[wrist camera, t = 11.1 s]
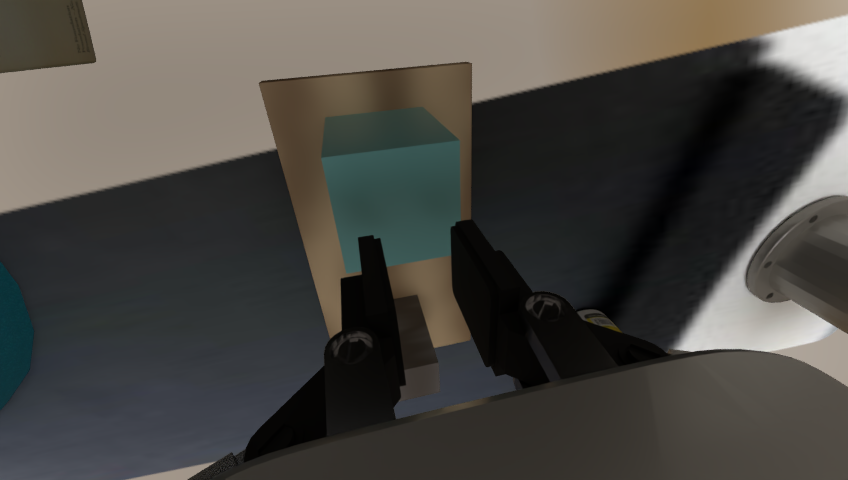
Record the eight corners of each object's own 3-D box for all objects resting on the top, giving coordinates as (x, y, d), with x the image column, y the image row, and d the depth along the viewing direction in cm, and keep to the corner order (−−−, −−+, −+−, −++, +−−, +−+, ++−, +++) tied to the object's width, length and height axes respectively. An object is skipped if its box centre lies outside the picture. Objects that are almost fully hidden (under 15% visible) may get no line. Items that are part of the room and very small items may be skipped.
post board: (466, 61, 22) (525, 77, 15) (466, 332, 34) (499, 407, 27) (261, 81, 20) (225, 107, 13) (338, 359, 32) (339, 447, 25)
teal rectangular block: (422, 106, 22) (459, 140, 15) (428, 194, 25) (461, 253, 18) (325, 117, 21) (321, 157, 14) (343, 207, 24) (346, 273, 17)
